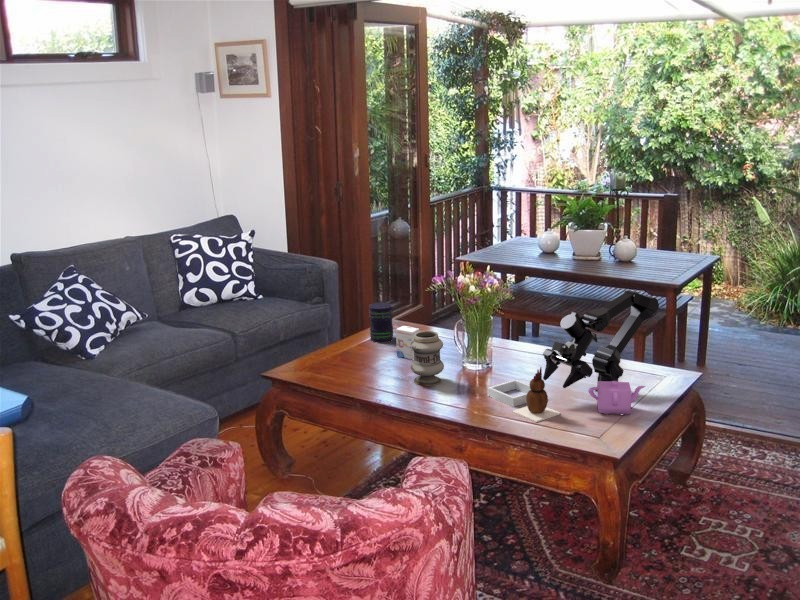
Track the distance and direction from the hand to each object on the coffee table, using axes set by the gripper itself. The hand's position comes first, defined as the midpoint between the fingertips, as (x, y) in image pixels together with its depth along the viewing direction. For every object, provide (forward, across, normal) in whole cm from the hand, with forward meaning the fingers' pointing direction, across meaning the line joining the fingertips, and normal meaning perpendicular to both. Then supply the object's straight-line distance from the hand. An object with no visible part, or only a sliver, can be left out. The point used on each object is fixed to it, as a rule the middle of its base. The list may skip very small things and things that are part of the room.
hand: (553, 383), depth 282 cm
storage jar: (+9, -100, +3) cm, 100 cm away
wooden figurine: (+11, 0, 0) cm, 11 cm away
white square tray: (+9, -15, +3) cm, 18 cm away
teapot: (-4, +15, +16) cm, 22 cm away
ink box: (+12, -74, 0) cm, 75 cm away
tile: (+11, 0, +1) cm, 11 cm away
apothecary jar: (+19, -46, -7) cm, 51 cm away
